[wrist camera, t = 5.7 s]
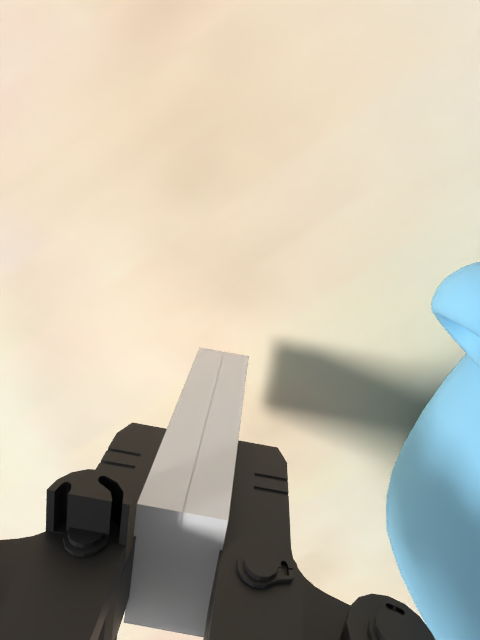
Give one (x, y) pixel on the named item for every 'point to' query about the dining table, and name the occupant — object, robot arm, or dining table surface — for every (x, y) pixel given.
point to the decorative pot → (444, 479)
